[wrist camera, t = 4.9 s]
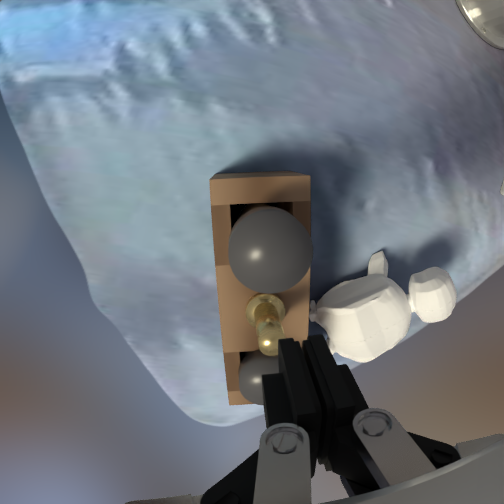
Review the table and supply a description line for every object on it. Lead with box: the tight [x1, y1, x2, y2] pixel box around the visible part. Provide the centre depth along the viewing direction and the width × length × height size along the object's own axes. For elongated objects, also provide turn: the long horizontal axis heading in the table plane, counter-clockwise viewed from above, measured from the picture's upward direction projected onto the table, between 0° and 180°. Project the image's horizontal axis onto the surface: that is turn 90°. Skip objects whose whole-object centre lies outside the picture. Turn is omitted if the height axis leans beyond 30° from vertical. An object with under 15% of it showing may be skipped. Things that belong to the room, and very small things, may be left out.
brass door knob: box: [245, 293, 286, 356], centre depth 22 cm, size 3×3×5 cm
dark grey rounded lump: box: [238, 349, 279, 405], centre depth 29 cm, size 5×5×9 cm
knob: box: [228, 203, 313, 294], centre depth 22 cm, size 5×5×9 cm
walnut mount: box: [209, 171, 311, 405], centre depth 28 cm, size 7×20×8 cm, turn 2°
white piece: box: [309, 251, 457, 363], centre depth 30 cm, size 9×8×15 cm
